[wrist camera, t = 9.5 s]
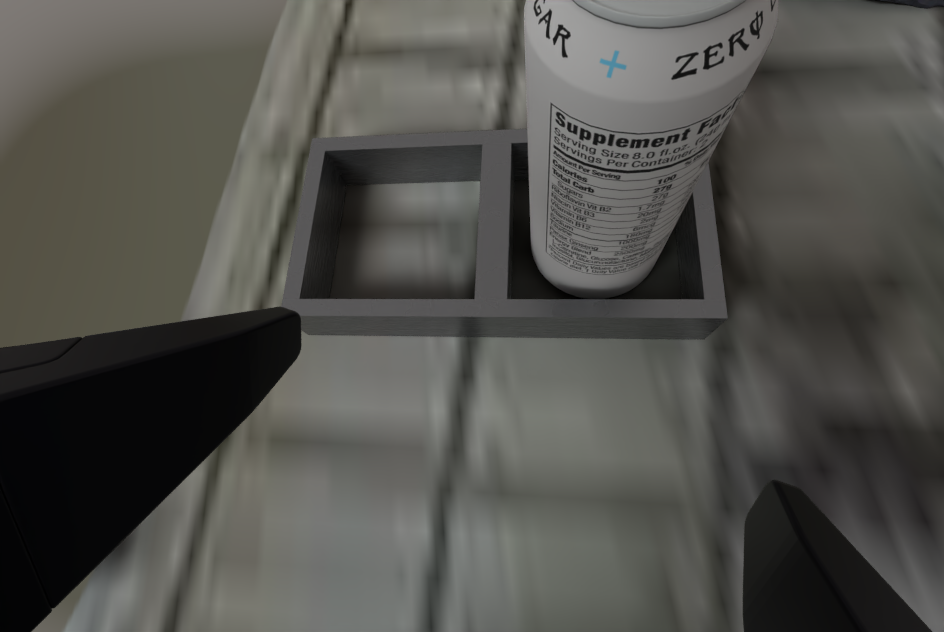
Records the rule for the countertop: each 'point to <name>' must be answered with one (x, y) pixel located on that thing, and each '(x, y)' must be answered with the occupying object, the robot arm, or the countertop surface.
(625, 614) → the countertop surface
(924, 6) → the dark slate chunk
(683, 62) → the energy drink can
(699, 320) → the divided frame
